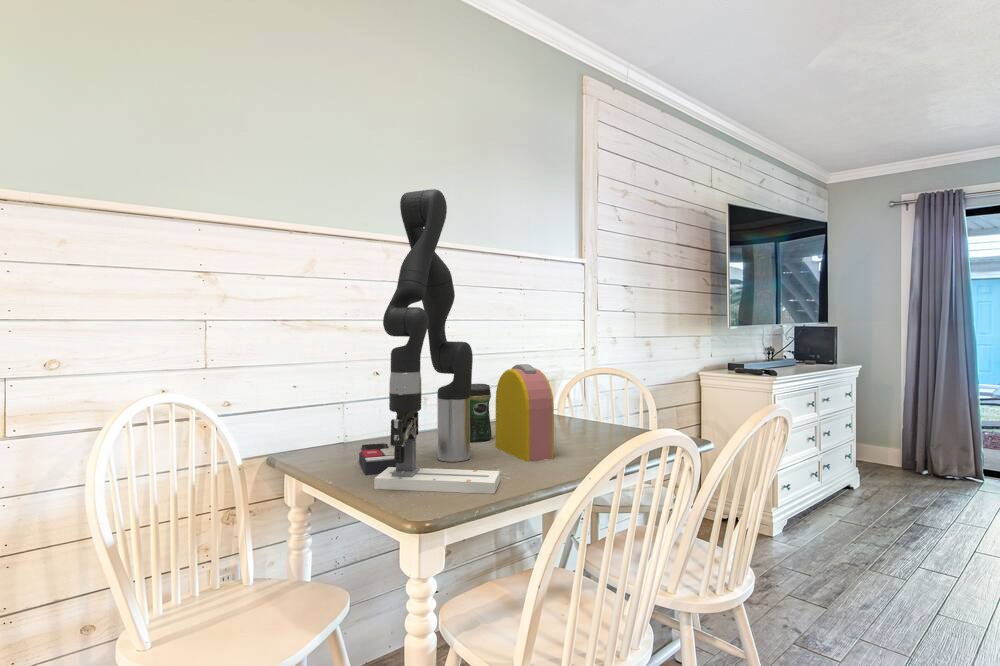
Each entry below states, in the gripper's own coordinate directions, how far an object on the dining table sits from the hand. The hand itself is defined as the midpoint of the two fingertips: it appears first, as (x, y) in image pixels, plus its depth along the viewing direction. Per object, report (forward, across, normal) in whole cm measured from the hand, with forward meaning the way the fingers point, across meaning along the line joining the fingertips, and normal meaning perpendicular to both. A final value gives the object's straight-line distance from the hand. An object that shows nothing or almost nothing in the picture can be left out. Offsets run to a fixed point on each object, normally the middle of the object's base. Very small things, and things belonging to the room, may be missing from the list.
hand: (405, 458), depth 131 cm
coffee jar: (+6, -52, +8) cm, 53 cm away
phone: (+6, -31, -19) cm, 37 cm away
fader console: (+6, 0, +8) cm, 10 cm away
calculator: (+6, -15, -11) cm, 20 cm away
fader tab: (+3, 0, 0) cm, 3 cm away
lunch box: (+6, -36, +25) cm, 45 cm away
